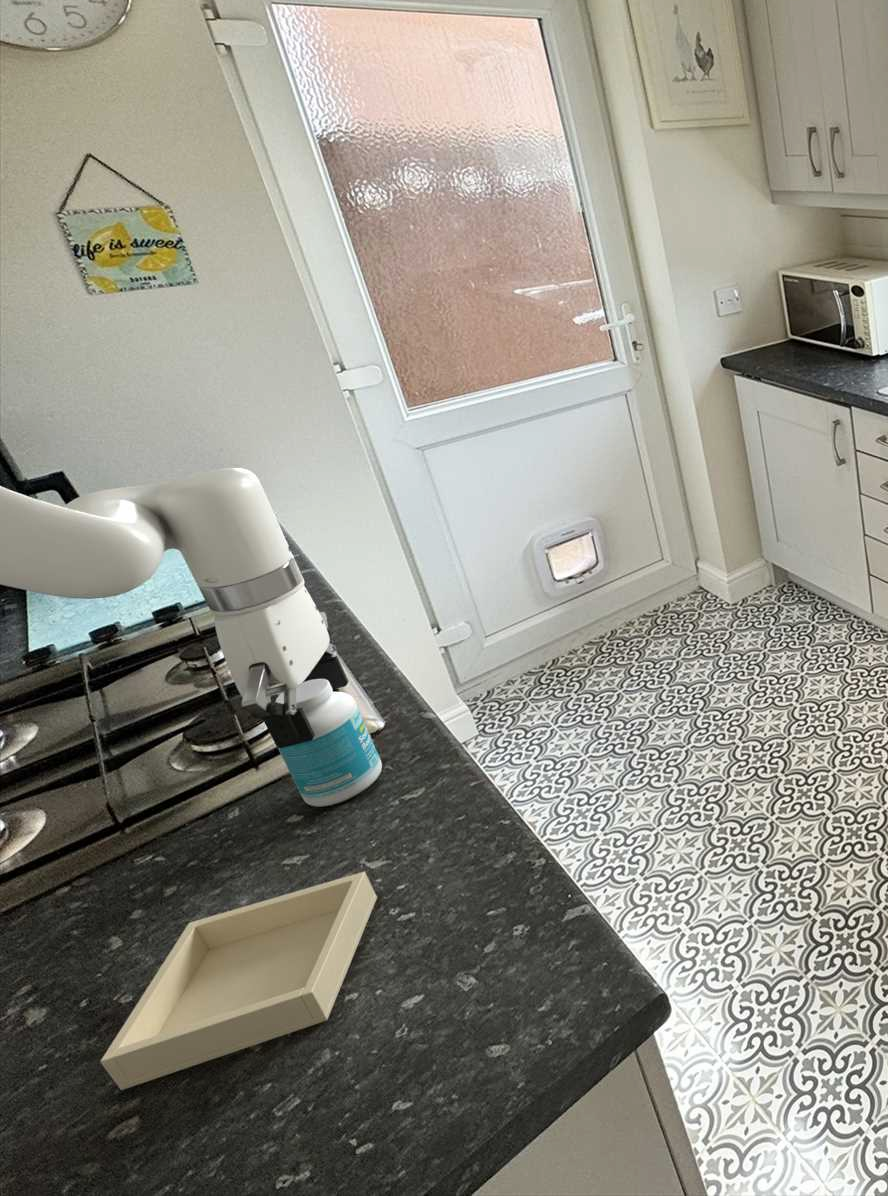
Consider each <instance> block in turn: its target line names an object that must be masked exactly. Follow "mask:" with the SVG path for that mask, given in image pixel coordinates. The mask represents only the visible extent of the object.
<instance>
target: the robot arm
mask: <svg viewBox="0 0 888 1196" xmlns="http://www.w3.org/2000/svg"><path fill="white" fill-rule="evenodd" d="M172 549H173V550H177V551H179V553H180V554H181V556H182V557H183V560H184V562H185V563H186V565H187V567H188V569H189V572H190V573H191V575H192V577H193V580H194V581H195V583H196V586H197V587H198V589H199V591H200V593H201V595H202V597H203V599H204V600H205V603H206V604H207V607H208V608H209V611H210V613H211V614H212V615H214V618H213V622H214V627H215V632H216V636H217V640H218V643H219V647H220V649H221V653H222V655H223V659H224V661H225V663H226V666H227V668H228V671H229V673H230V675H231V678H232V680H233V682H234V685H235V687H236V689H237V691H238V693H239V694H240V696H241V698H242V700H241V707H242V708H243V709H244V710H245V711H247V712H248V713H250V715H251V716H252V718H253V719H255V720H258V721H259V722H260V723H264V725H265V726H266V729H267V731H268V733H269V734H270V736H271V739H272V740H273V743H274V744H275V746H276V748H277V747H278V748H284V747H288V746H292V745H296V744H300V743H304V742H308V741H311V740H312V739H313V738H314V736H315V734H314V732H313V730H312V727H311V725H310V723H309V721H308V719H307V717H306V715H305V713H304V711H303V709H302V708H298V709H296V688H297V687H298V686H299V685H301V684H302V683H303V682H305V680H306V679H308V681H309V680H314V679H326V680H328V681H329V683H330V685H331V687H332V689H333V690H336V689H341V688H345V687H346V686H347V685H348V684H349V679H348V677H347V675H346V672H345V670H344V668H343V665H342V664H341V661H340V658H339V657H338V655H337V652H338V651H337V650H338V649H337V647H336V646H335V644H332V637H333V633H332V631H331V629H329V625H328V619H327V614H326V612H325V611H319V609H318V606H317V605H316V603H315V602H314V600H313V598H312V596H311V594H310V593H309V591H308V589H307V588H306V586H305V582H306V581H305V579H304V577H303V574H302V572H301V571H300V568H299V565H298V564H297V562H296V561H297V560H296V559H295V557H294V555H293V553H292V550H291V548H290V545H289V543H288V541H287V539H286V537H285V535H284V532H283V530H282V527H281V525H280V523H279V521H278V518H277V516H276V514H275V512H274V509H273V507H272V505H271V503H270V500H269V499H268V497H267V494H266V492H265V490H264V487H263V485H262V483H261V481H260V480H259V478H258V477H257V475H256V474H254V473H253V472H252V471H251V470H249V469H245V468H242V467H224V468H217V469H209V470H206V471H205V470H204V471H201V472H197V473H193V474H190V475H187V476H184V477H181V478H178V479H176V480H172V481H165V482H158V483H151V484H143V485H142V484H141V485H133V486H132V485H131V486H124V487H115V488H109V489H104V490H97V491H94V492H90V493H89V492H88V493H86V494H84V495H81V496H78V497H76V498H73V500H71V501H69V502H68V503H66V504H65V505H64V506H61V505H57V504H53V503H51V502H47V501H44V500H41V499H37V498H34V497H32V496H28V495H26V494H23V493H19V492H17V491H13V490H11V489H9V488H6V487H3V486H1V485H0V586H4V587H5V586H6V587H10V588H15V589H20V590H24V591H27V592H32V593H33V592H34V593H38V594H42V595H48V596H54V597H59V598H60V597H61V598H67V599H81V600H82V599H83V600H95V599H96V600H97V599H107V598H111V597H116V596H120V595H123V594H126V593H129V592H131V591H133V590H135V589H137V588H139V587H141V586H142V585H144V584H145V583H146V582H148V581H149V580H150V579H151V578H152V577H153V576H154V575H155V574H156V572H157V571H158V569H159V568H160V566H161V564H162V561H163V556H164V553H165V552H166V551H168V550H172ZM276 683H281V684H283V685H279V686H274V687H270V685H272V684H273V685H274V684H276ZM282 693H284V704H281V703H277V702H276V701H273V702H272V696H277V695H280V694H282ZM278 748H277V749H278Z"/></svg>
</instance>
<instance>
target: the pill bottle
mask: <svg viewBox="0 0 888 1196" xmlns="http://www.w3.org/2000/svg"><path fill="white" fill-rule="evenodd" d="M333 690H334V689H332V687H331V685H330V683H329V681H328V680H326V679H314V680H309V679H308V680H306V681H303V682H302V684H301V685H299V686H298V687H297V688H296V709H298V708H302V709H303V711H304V713H305V715H306V717H307V719H308V721H309V723H310V725H311V727H312V730H313V732H314V734H315V736H314V738H313V739H312V740H311V741H308V742H304V743H300V744H296V745H292V746H288V747H284V748H278V747H277V746H276V748H277V749H278V751H279V753H280V756H281V758H282V759H283V762H284V764H285V766H286V768H287V770H288V772H289V774H290V776H291V778H292V780H293V782H294V784H295V786H296V789H297V790H298V792H299V794H300V796H301V798H302V800H303V802H305V804H307V805H310V806H312V807H328V806H334V805H336V804H340V803H342V802H345V801H348V800H349V799H352V798H354V797H355V796H357V795H358V794H360V793H362V792H363V791H365V790H366V789H367V788H369V787H370V786H371V785H372V784H373V783H375V781H376V780H377V779H378V778H379V776H380V775H381V773H382V769H383V763H382V760H381V758H380V755H379V753H378V751H377V749H376V746H375V744H374V741H373V740H372V736H371V734H370V732H369V730H368V727H367V725H366V723H365V721H364V719H363V715H362V713H361V712H360V708H359V706H358V705H357V702H356V700H355V698H354V697H353V696H352V695H350V694H349V693H346V692H342V691H333ZM275 702H277V703H281V704H284V693H281V694H278V696H277V697H276V698H275Z"/></svg>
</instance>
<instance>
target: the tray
mask: <svg viewBox="0 0 888 1196" xmlns="http://www.w3.org/2000/svg"><path fill="white" fill-rule="evenodd" d="M377 899H378V896H377V894H376V891H375V890H374V888H373V886H372V883H371V882H370V879H369V877H368V875H367V873H366V871H362V872H358V873H355V874H350V875H348V876H344V877H341V878H338V879H334V880H331V881H327V882H323V883H321V884H320V883H319V884H316V885H313V886H309V887H307V888H303V889H300V890H296V891H294V892H290V893H286V894H283V895H279V896H276V897H272V898H269V899H266V900H262V901H258V902H256V903H252V904H249V905H245V906H241V907H238V908H235V909H232V910H231V909H230V910H228V911H224V912H222V913H217V914H214V915H211V916H208V917H203V918H201V919H197V920H194V921H191V922H188V924H187V925H186V927H185V928H184V929H183V931H182V933H181V934H180V936H179V938H178V939H177V941H176V942H175V944H174V946H173V947H172V949H171V950H170V952H169V953H168V955H167V956H166V958H165V960H164V961H163V962H162V964H161V966H160V968H158V970H157V972H156V974H155V975H154V977H153V978H152V980H151V981H150V982H149V985H148V986H147V987H146V989H145V991H143V994H142V995H141V997H140V999H139V1001H137V1003H136V1005H135V1006H134V1008H133V1009H132V1011H131V1012H130V1014H129V1015H128V1017H127V1019H126V1020H125V1022H124V1024H123V1025H122V1026H121V1028H120V1030H119V1031H118V1033H117V1035H116V1036H115V1038H114V1039H113V1040H112V1042H111V1044H110V1045H109V1047H108V1049H107V1050H106V1052H104V1055H103V1056H102V1058H101V1059H100V1064H101V1065H102V1067H103V1068H104V1069H105V1071H106V1072H107V1073H108V1074H109V1076H110V1077H111V1079H112V1080H113V1082H114V1083H115V1084H116V1085H117V1087H118V1088H119V1089H120V1091H123V1090H126V1089H129V1088H132V1087H135V1086H138V1085H141V1084H144V1083H147V1082H150V1081H153V1080H156V1079H159V1078H162V1077H165V1076H167V1075H170V1074H174V1073H177V1072H179V1071H182V1070H185V1069H189V1068H191V1067H195V1066H198V1065H200V1064H203V1063H206V1062H209V1061H212V1060H214V1059H218V1058H220V1057H224V1056H226V1055H229V1054H232V1053H235V1052H238V1051H241V1050H244V1049H247V1048H250V1047H253V1046H256V1045H259V1044H261V1043H265V1042H267V1041H268V1042H269V1041H271V1040H273V1039H277V1038H280V1037H283V1036H286V1035H288V1034H291V1033H295V1032H297V1031H300V1030H303V1029H306V1028H308V1027H311V1026H315V1025H318V1024H321V1023H324V1022H326V1021H328V1020H329V1017H330V1014H331V1012H332V1009H333V1008H334V1005H335V1002H336V999H337V997H338V995H339V992H340V989H341V987H342V985H343V982H344V980H345V978H346V975H347V973H348V970H349V968H350V965H351V963H352V960H353V958H354V956H355V953H356V950H357V948H358V946H359V942H360V941H361V939H362V936H363V933H364V931H365V929H366V926H367V923H368V921H369V919H370V916H371V914H372V911H373V909H374V906H375V904H376V901H377Z"/></svg>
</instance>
